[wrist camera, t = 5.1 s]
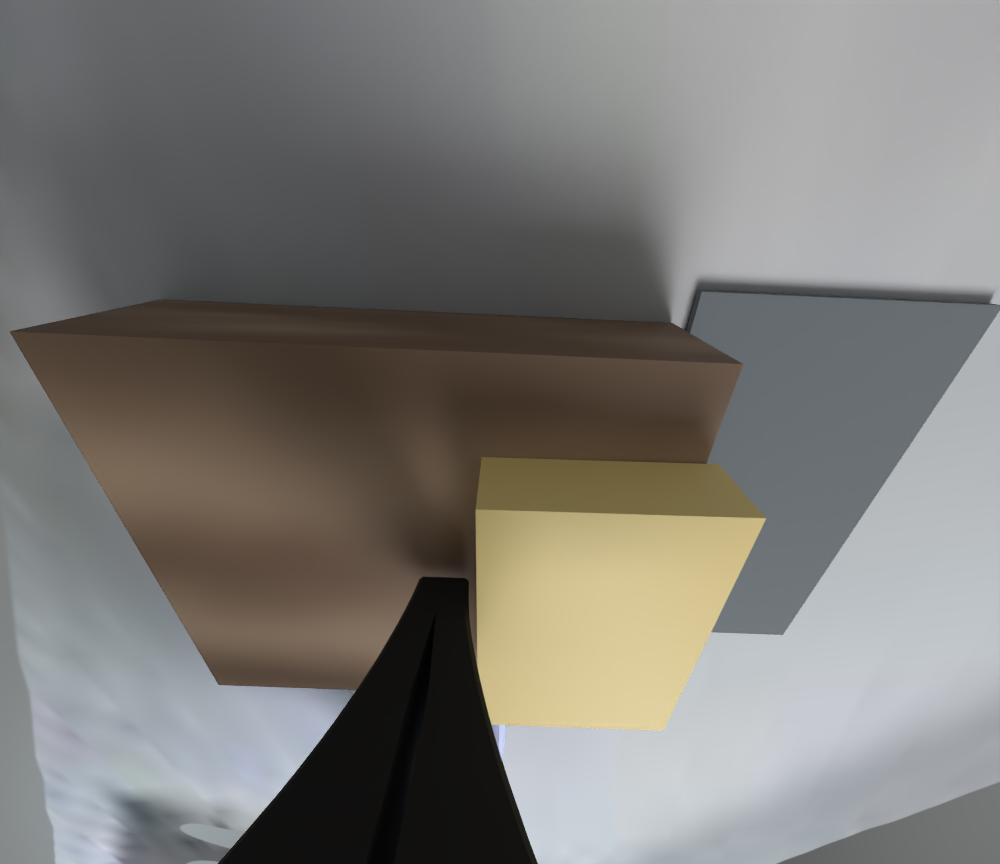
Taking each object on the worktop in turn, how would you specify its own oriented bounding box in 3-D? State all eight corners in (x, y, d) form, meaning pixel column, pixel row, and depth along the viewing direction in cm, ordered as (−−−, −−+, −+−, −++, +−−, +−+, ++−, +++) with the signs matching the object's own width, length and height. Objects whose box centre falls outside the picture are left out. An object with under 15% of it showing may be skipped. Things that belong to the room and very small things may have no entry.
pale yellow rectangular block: (643, 666, 14) (663, 730, 12) (481, 660, 14) (478, 724, 12) (718, 463, 9) (766, 518, 8) (481, 457, 9) (475, 509, 8)
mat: (779, 629, 19) (782, 634, 19) (603, 622, 19) (605, 628, 19) (991, 304, 11) (1003, 305, 11) (697, 290, 11) (701, 291, 11)
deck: (597, 609, 18) (618, 699, 15) (273, 597, 18) (218, 684, 15) (671, 323, 12) (742, 364, 8) (159, 299, 12) (9, 331, 8)
